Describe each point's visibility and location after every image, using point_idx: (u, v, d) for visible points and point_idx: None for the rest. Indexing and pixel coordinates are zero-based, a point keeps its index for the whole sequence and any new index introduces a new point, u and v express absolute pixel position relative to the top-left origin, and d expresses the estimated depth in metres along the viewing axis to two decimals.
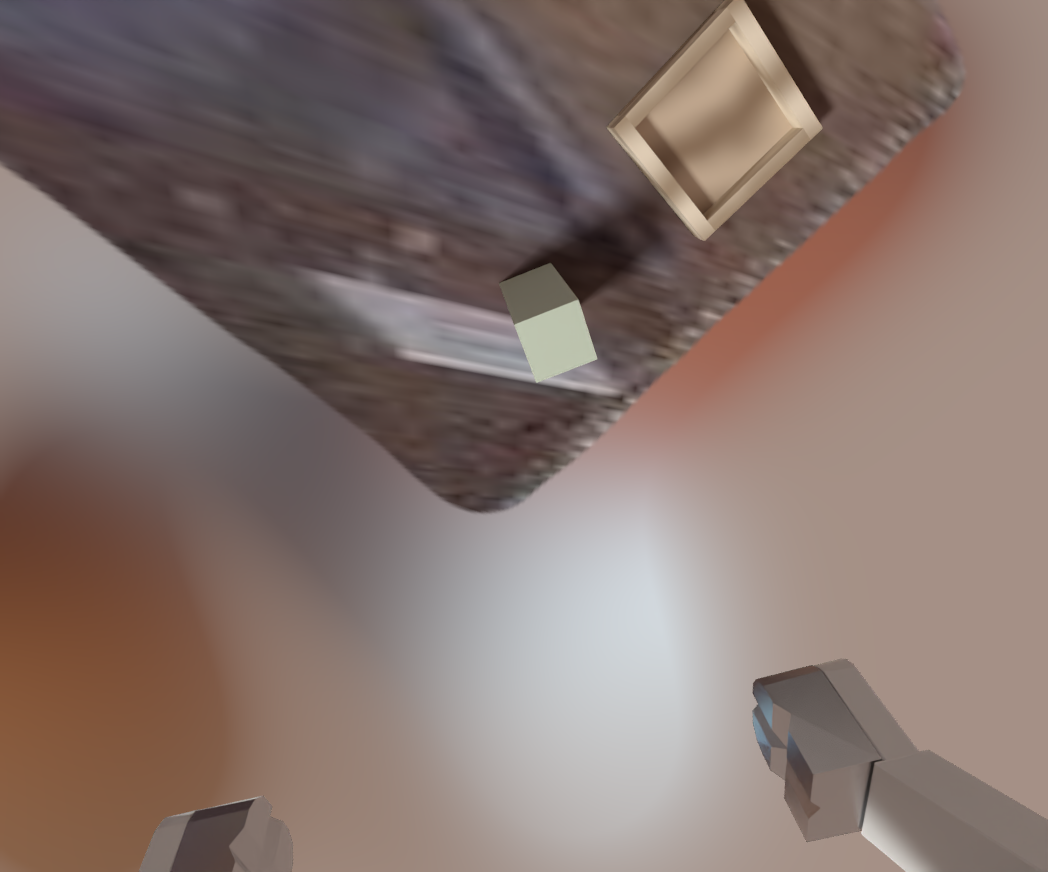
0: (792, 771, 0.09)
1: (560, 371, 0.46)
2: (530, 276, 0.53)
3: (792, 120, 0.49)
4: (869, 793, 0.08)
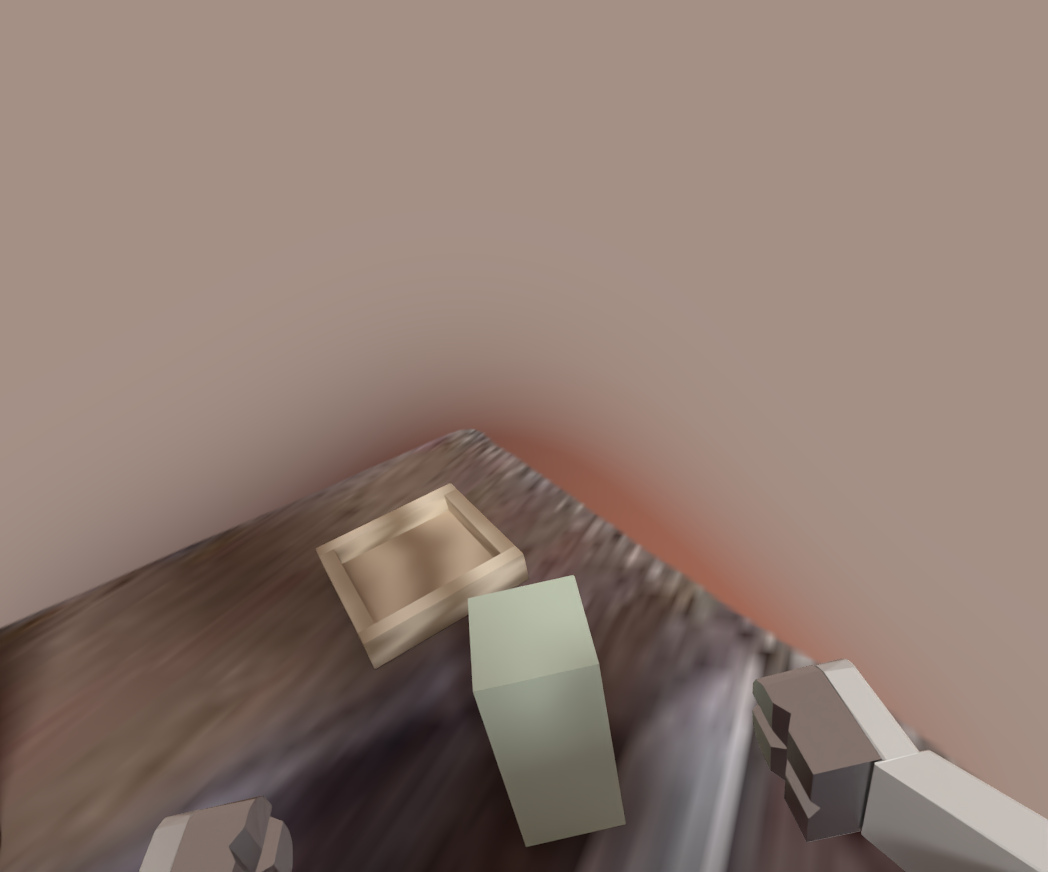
0: (792, 771, 0.09)
1: (584, 624, 0.25)
2: None
3: (438, 507, 0.52)
4: (868, 793, 0.08)
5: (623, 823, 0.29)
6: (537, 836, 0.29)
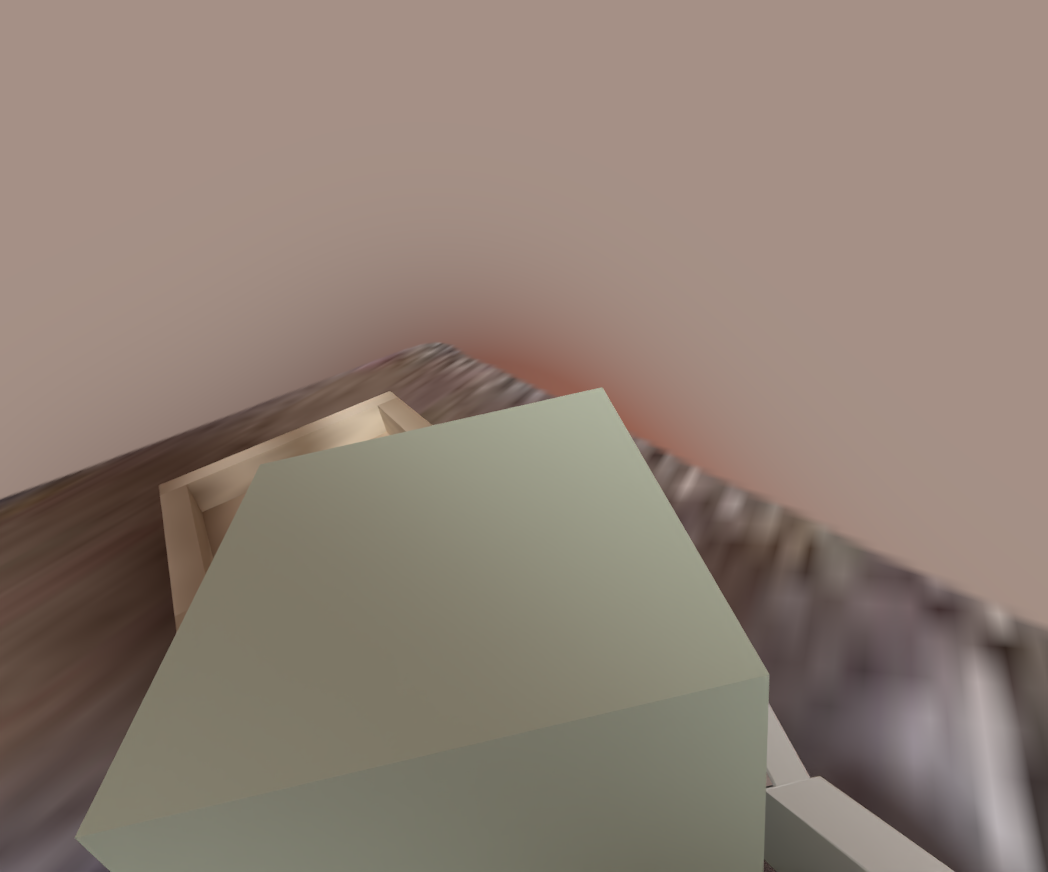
0: None
1: (657, 512, 0.06)
2: None
3: (369, 426, 0.33)
4: None
5: None
6: None
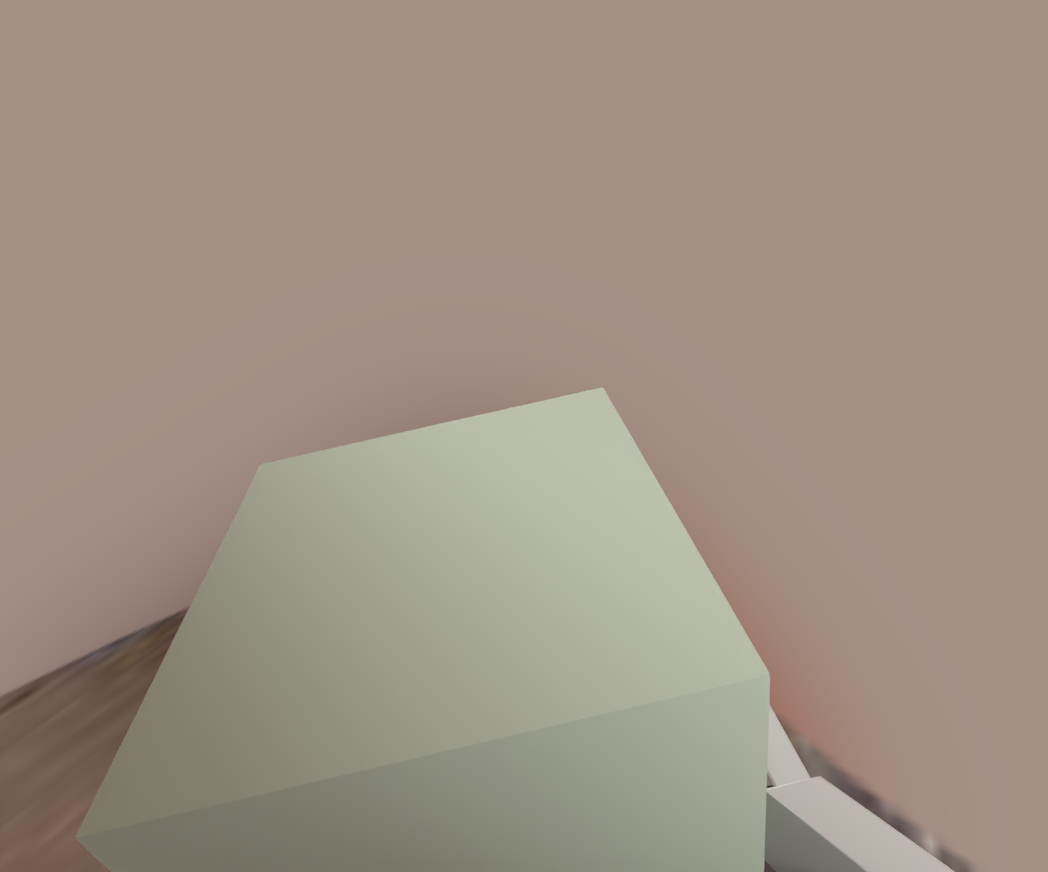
0: None
1: (658, 512, 0.06)
2: None
3: None
4: None
5: None
6: None
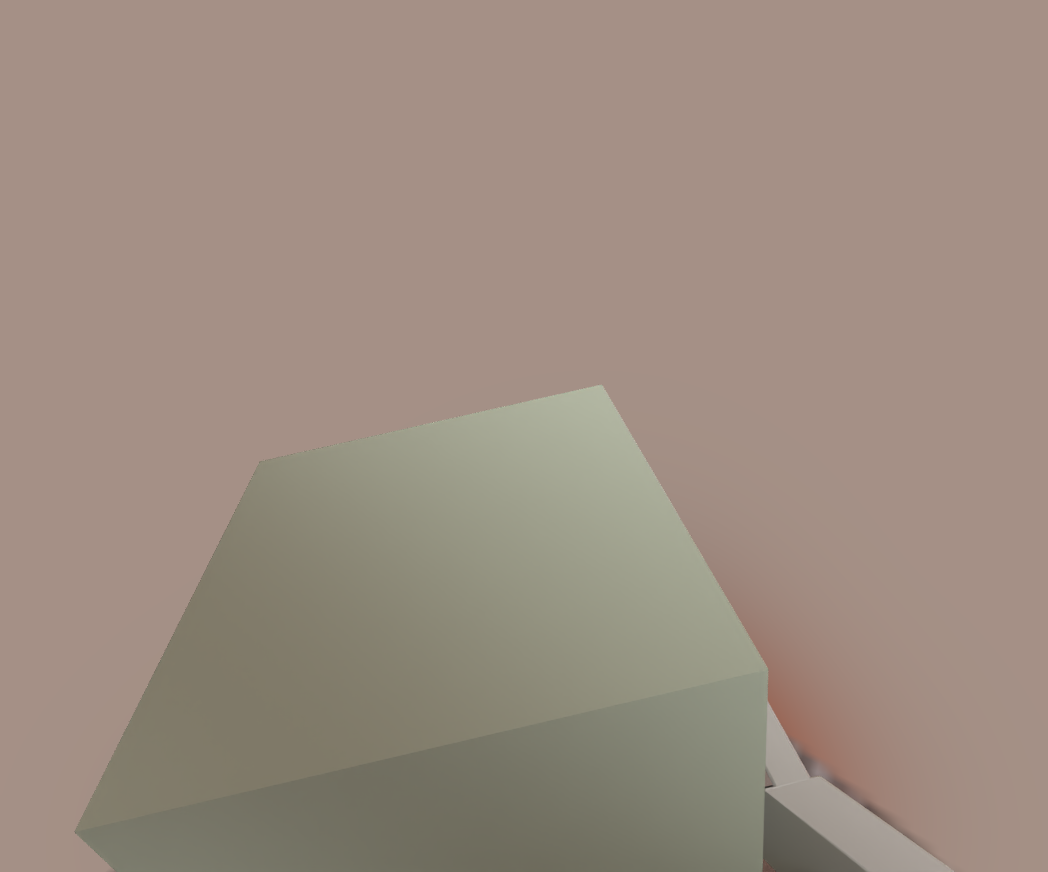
0: None
1: (657, 508, 0.06)
2: None
3: None
4: (764, 818, 0.08)
5: None
6: None
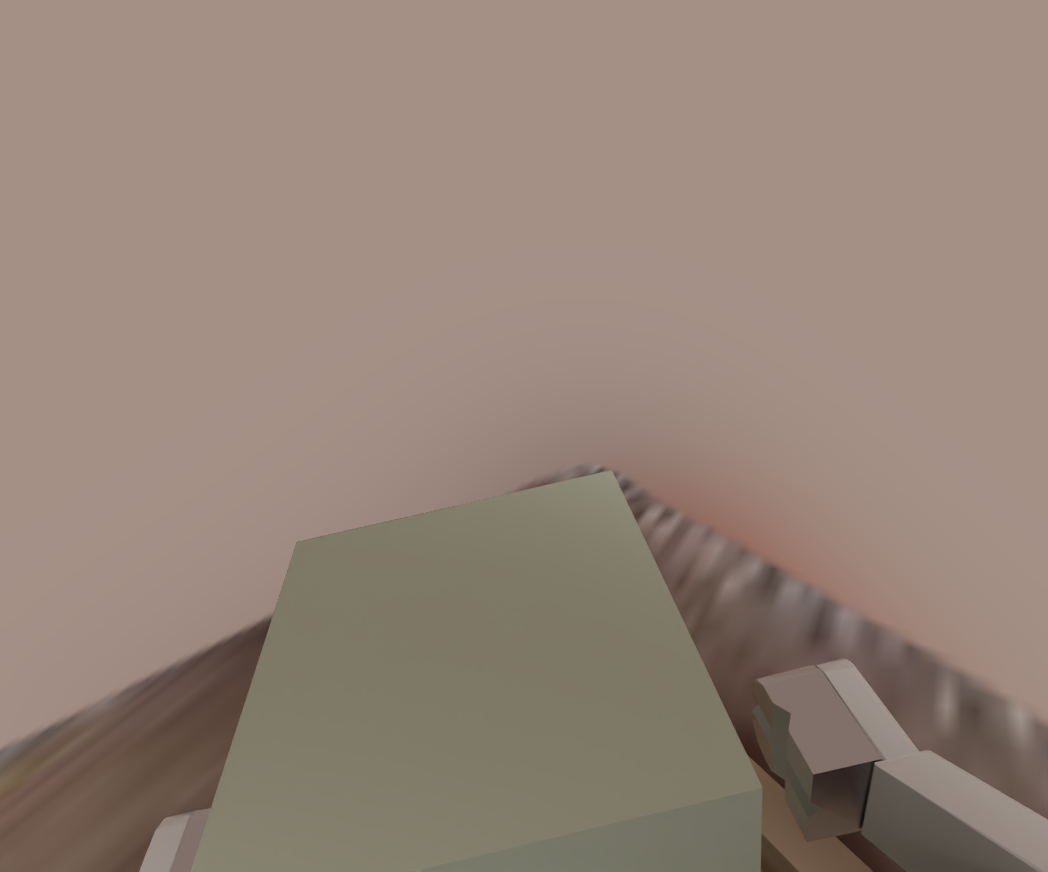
0: (792, 771, 0.09)
1: (664, 613, 0.07)
2: None
3: None
4: (868, 793, 0.08)
5: None
6: None
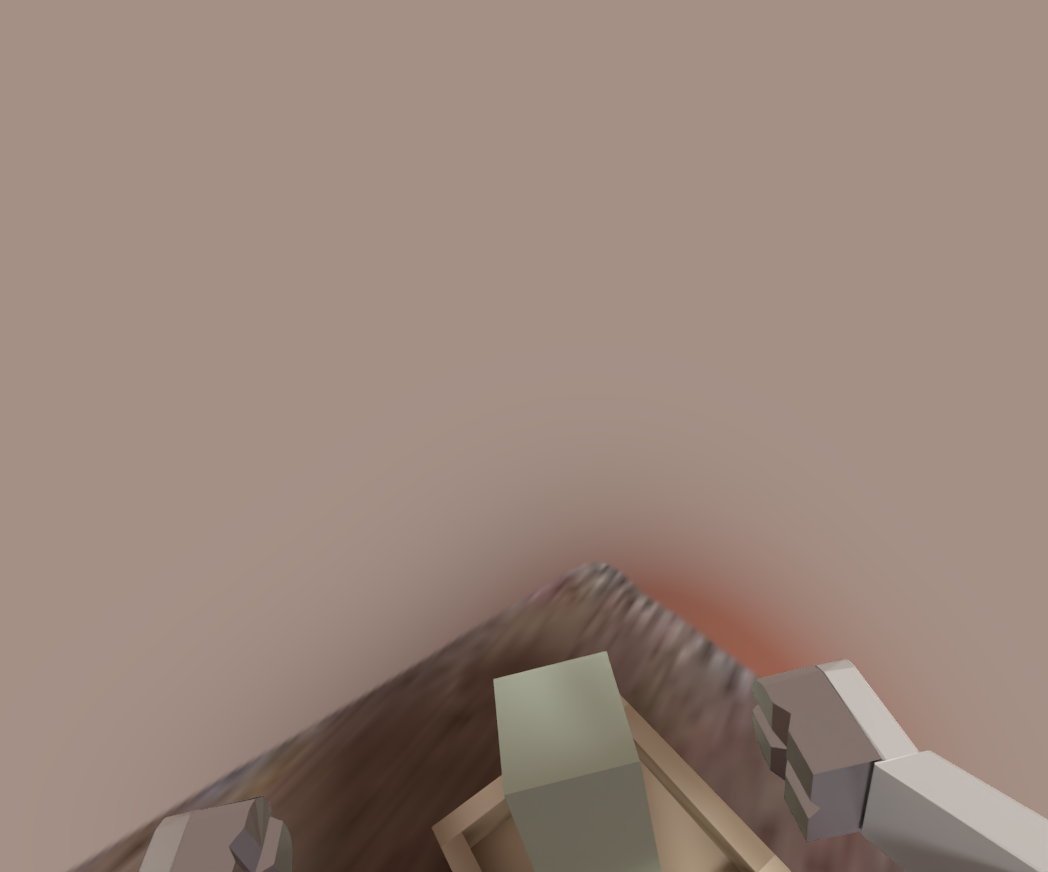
0: (792, 771, 0.09)
1: (620, 712, 0.23)
2: None
3: None
4: (868, 793, 0.08)
5: None
6: None
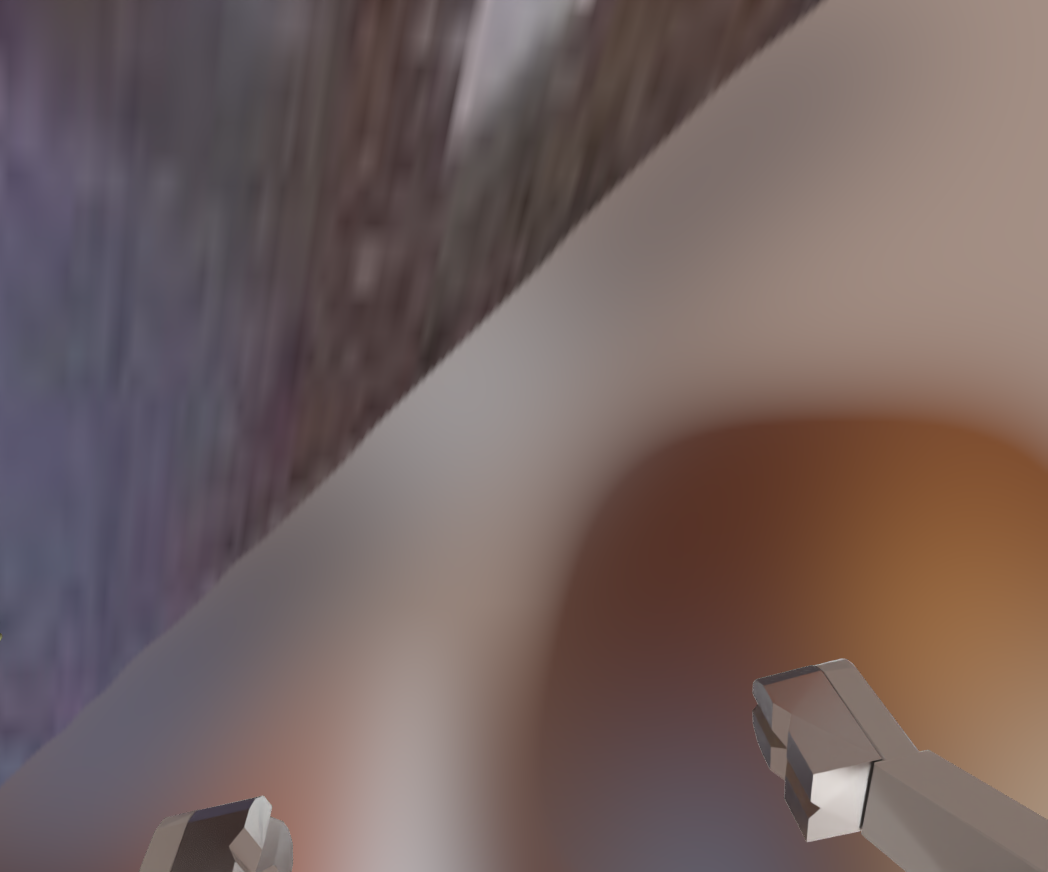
0: (792, 771, 0.09)
1: None
2: None
3: None
4: (869, 793, 0.08)
5: None
6: None
